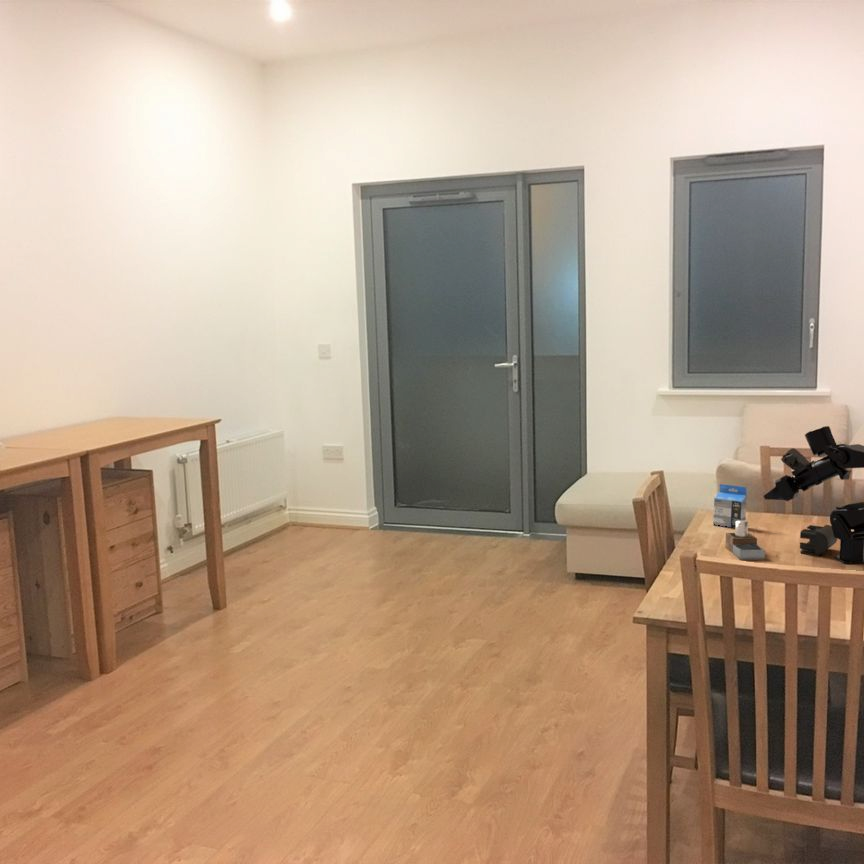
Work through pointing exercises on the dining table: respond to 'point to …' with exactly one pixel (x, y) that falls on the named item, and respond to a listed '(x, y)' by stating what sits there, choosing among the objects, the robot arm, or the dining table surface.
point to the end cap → (817, 539)
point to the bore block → (738, 540)
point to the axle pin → (741, 529)
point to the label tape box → (729, 505)
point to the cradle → (748, 551)
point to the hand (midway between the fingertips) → (771, 493)
